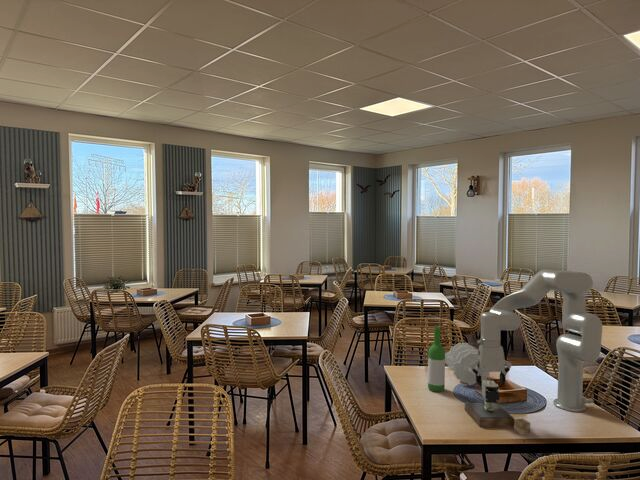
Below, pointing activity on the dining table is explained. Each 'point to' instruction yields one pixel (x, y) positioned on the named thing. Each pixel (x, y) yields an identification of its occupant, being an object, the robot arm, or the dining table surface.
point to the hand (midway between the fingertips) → (490, 384)
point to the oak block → (522, 426)
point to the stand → (489, 415)
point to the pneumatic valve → (490, 394)
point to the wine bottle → (436, 364)
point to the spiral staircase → (463, 362)
